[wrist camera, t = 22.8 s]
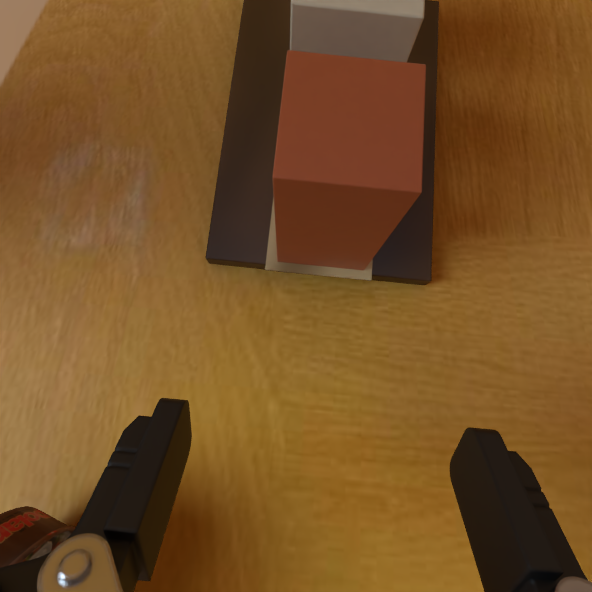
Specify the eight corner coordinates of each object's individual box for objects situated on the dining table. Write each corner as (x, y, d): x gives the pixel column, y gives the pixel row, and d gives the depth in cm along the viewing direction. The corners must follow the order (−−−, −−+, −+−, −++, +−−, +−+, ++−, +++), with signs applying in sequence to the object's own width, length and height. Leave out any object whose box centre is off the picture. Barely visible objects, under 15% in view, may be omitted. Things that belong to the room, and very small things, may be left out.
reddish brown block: (365, 270, 21) (424, 192, 12) (276, 262, 21) (270, 177, 12) (370, 190, 22) (428, 64, 13) (284, 181, 22) (285, 48, 13)
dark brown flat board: (207, 268, 22) (203, 263, 21) (248, -5, 26) (246, -22, 24) (424, 290, 22) (432, 286, 21) (433, 15, 26) (440, -1, 25)
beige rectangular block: (287, 150, 22) (288, 2, 14) (294, 79, 23) (301, -102, 14) (370, 159, 22) (426, 17, 14) (374, 88, 23) (430, -88, 14)
